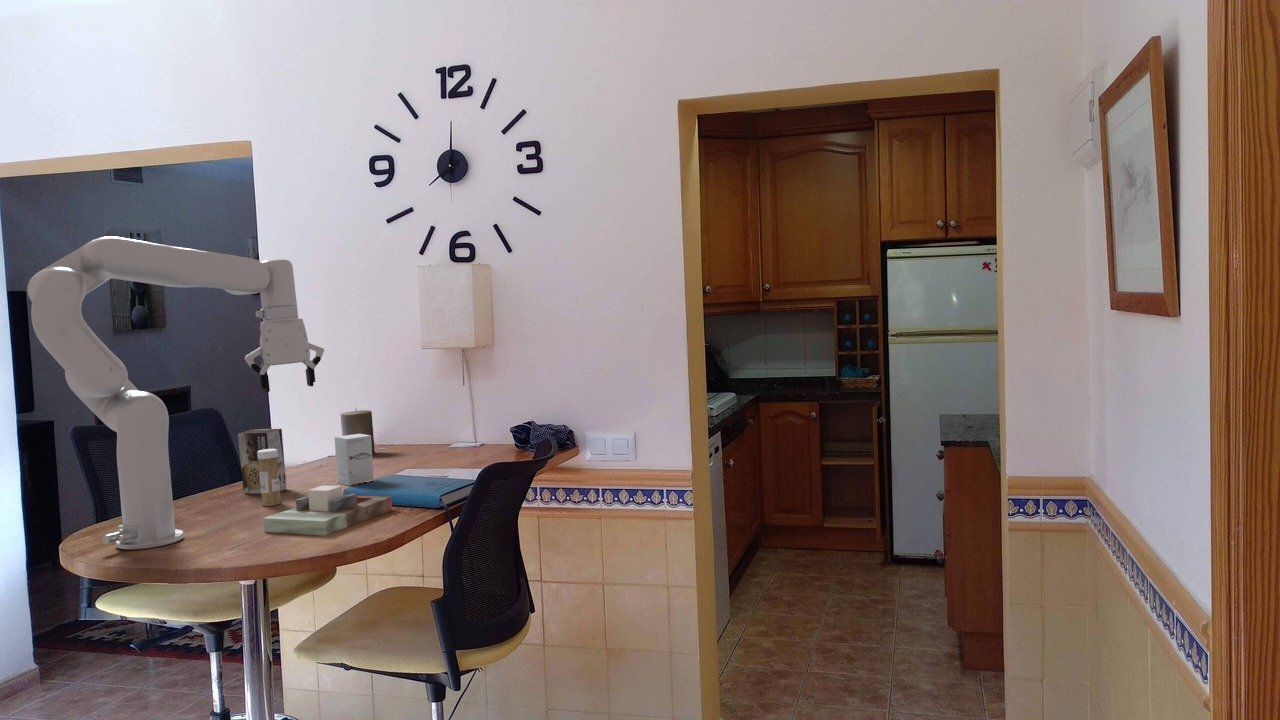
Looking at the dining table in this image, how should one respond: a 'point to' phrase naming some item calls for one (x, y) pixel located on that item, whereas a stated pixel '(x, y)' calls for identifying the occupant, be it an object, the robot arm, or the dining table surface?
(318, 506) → the cream block
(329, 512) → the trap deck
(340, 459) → the supplement box
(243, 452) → the coffee box
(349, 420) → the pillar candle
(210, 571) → the dining table surface
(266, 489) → the sprinkles bottle
